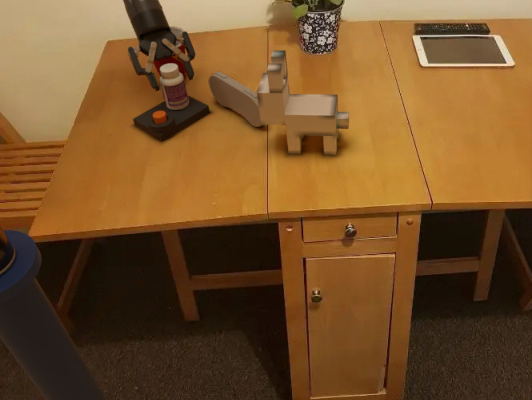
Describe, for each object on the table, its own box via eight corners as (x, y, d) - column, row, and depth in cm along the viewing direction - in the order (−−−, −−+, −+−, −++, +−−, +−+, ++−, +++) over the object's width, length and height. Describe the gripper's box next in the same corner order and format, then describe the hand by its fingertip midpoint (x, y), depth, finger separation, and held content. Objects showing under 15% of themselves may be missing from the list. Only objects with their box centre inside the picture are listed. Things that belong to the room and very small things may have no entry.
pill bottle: (194, 102, 135) (186, 65, 128) (178, 113, 132) (169, 76, 125) (177, 95, 137) (168, 59, 131) (161, 106, 134) (151, 69, 127)
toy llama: (348, 155, 121) (346, 70, 107) (265, 153, 123) (253, 70, 109) (350, 134, 126) (349, 50, 113) (270, 132, 128) (260, 50, 115)
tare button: (159, 126, 126) (157, 119, 125) (151, 121, 128) (149, 114, 126) (169, 120, 128) (168, 113, 127) (162, 115, 129) (160, 109, 128)
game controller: (271, 128, 129) (267, 96, 124) (263, 133, 128) (259, 101, 122) (219, 95, 140) (213, 65, 134) (211, 99, 139) (205, 69, 133)
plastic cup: (150, 94, 142) (137, 49, 134) (155, 71, 150) (143, 28, 141) (194, 90, 142) (184, 45, 134) (197, 67, 150) (188, 24, 142)
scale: (161, 143, 127) (158, 130, 125) (133, 126, 132) (129, 113, 130) (211, 113, 135) (208, 100, 132) (182, 98, 140) (179, 85, 137)
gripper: (175, 14, 135) (203, 80, 135) (114, 30, 130) (143, 99, 130) (178, 0, 128) (207, 70, 128) (114, 17, 123) (144, 89, 123)
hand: (174, 84), depth 129 cm, fingers open, 7 cm apart
